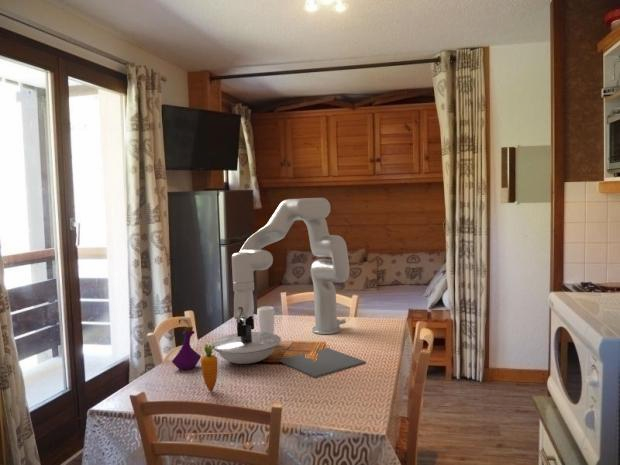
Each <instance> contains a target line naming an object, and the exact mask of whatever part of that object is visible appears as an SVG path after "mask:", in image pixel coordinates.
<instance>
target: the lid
mask: <svg viewBox="0 0 620 465" xmlns="http://www.w3.org/2000/svg"><path fill="white" fill-rule="evenodd" d="M281 340H282V338H281V337H280V336H279V335H278V334H275V333H274V334H272V333H265V332H259V331H252V329H251V325H246V336H245V337H238V336H237V333H231V334H227V335H223V336H221V337H218V338H216V339H215V340H214V341H212V342H211V345H212V346H211V348H212V347H213V346H215V347H214V348H213V349H212V350H214V351H215V352H217V351H218V352H217V353H219V352H222V353H230V354H244V353H254V352H260V351H265V350H268V349H271V348H274V347H275V348H276V347H278V346H279V345H280V344H281ZM275 348H274V349H275Z"/></svg>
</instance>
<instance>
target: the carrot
mask: <svg viewBox="0 0 620 465" xmlns="http://www.w3.org/2000/svg"><path fill="white" fill-rule="evenodd" d="M214 347H215V346H213V347H212V344H207V343H206V344H205V345H204V352H205V354H206V355H203V356H201V358H200V363H201V373H202V377H203V381H204V384H205V386H206V388H207V389H208V391H209V392H210V393H211V392H213V390H214V388H215V386H216V383H217V379H218V357H217V356H216V355H215V354H212V353H214V352H213V350H214V349H213V348H214Z"/></svg>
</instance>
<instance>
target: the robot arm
mask: <svg viewBox="0 0 620 465" xmlns="http://www.w3.org/2000/svg"><path fill="white" fill-rule="evenodd" d="M330 212H331V204H330V202H329V201H328V199H327V198H325V197H310V198H309V197H306V198H288V199H284V200H282V201H281V202H280V203H279V205H278V206H277V208H276V209H275V211H274V212H273V214H272V215H271V216H270V218H269V220H268V221H267V223H266V224H265V225H264V226H263V227H261V228H260V229H258V230H257V231H256V232H255V233H252V235H250V236H249V237H248V238H247V239H246V241H245V242H244V244H243V245H242V246H241V248H240V250H239V251H238V252H234V253H233V254H232V255H231V269H232V271H231V272H232V290H233V292H234V294H233V295H234V296H233V318H234V319H235V320H236V321H235V322H236V331H237V333H236V334H237V336H238V337H245V336H246V325H251V330H254V329H255V315H254V313H255V305H254V304H255V303H254V294H253V292H254V291H255V282H254V281H255V280H254V272H255V271H265V270H268V269H269V268H270V267H272V265H273V264H274V263H273V261H274V257H273V255H272V253H271V252H270V251H269V250H266V249H263V248H264V247H267V246H269V245H271V244H273V243H277V242H279V241H280V240H282V239H284V238H285V237H286V235H287V234H288V232H289V230H290V228H291V227H292V226H293V224H294V223H295V221H303V222H304V224H305V226H306V227H307V232H308V238H309V244H310V250H311V253H312V255H313V256H315V257H320V259H316V260H314V261H313V262H312V264H311V266H310V275H311V280H312V284H313V298H314V299H313V303H314V320H315V321H314V322H315V324H314V327H312V328H311V332H312V333H314V334H317V335H331V334H337V333H340V332H341V330H342V328H341V326H340V325H343V324H346V322H347V321H346V319H345V318H343V319H338V314H337V291H336V287H335V285H334V283H345V282H346V281H347V280H348V279H349V277H350V262H349V254H348V246H347V243H346V241H345V239H344V238H343V237H342V236H340V235H337V234H336V235H335V234H330V233H329V228H328V223H327V220H326V218H327V217H328V216H329V215H330ZM327 258H329V259H327ZM330 258H331V259H330Z"/></svg>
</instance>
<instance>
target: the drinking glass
mask: <svg viewBox="0 0 620 465" xmlns="http://www.w3.org/2000/svg"><path fill="white" fill-rule="evenodd" d="M256 314H257V323H258V324H257V325H258V332H265V333H272V334H275V308H274V307H273V306H260V307H257V311H256Z"/></svg>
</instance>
